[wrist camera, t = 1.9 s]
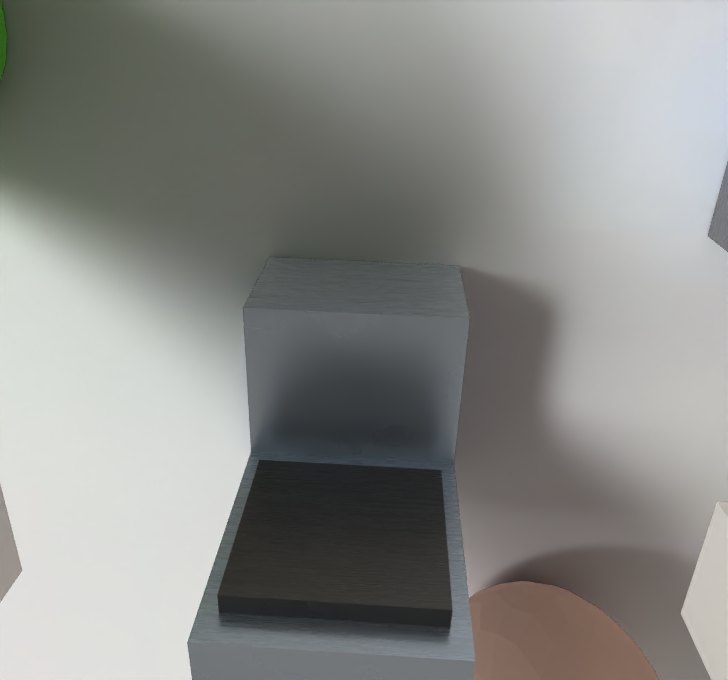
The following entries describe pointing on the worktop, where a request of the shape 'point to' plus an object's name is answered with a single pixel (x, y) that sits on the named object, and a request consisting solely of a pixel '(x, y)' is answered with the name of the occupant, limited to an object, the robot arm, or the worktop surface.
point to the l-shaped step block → (345, 482)
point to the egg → (549, 637)
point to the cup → (2, 41)
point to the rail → (721, 216)
